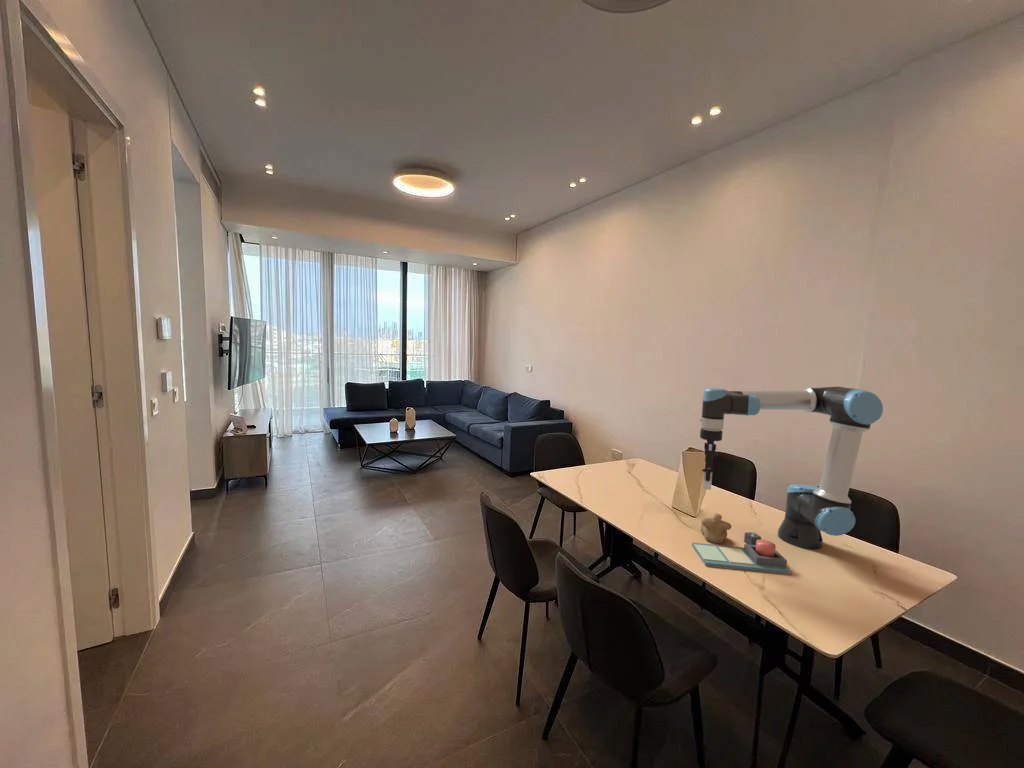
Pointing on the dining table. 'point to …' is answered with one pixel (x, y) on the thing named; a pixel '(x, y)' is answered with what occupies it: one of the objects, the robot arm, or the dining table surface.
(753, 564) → the board
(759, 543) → the dome button
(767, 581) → the dining table surface
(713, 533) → the figurine
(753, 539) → the die
